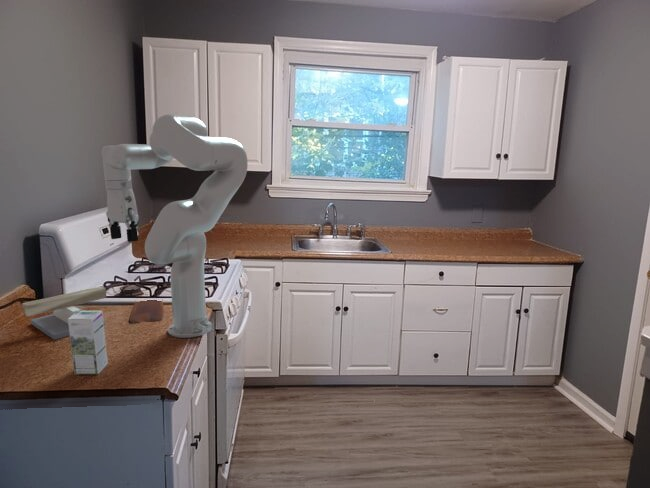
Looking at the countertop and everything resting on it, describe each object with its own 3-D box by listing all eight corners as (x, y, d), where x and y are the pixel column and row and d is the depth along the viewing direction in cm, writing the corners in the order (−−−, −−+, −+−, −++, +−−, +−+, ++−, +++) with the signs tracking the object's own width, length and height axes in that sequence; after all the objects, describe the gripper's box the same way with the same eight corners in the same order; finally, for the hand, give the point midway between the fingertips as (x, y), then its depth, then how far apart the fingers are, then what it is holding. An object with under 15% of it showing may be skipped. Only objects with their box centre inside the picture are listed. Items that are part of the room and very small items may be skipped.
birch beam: (106, 297, 141) (105, 288, 140) (27, 316, 125) (26, 305, 124) (101, 295, 143) (101, 286, 142) (23, 313, 126) (22, 303, 126)
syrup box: (108, 363, 111) (103, 309, 108) (97, 375, 105) (91, 318, 102) (85, 364, 111) (79, 309, 108) (73, 375, 105) (66, 318, 102)
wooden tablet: (163, 322, 140) (163, 317, 140) (129, 326, 137) (128, 321, 136) (164, 297, 165) (164, 292, 164) (135, 299, 161) (135, 295, 161)
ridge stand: (104, 325, 135) (102, 305, 134) (54, 339, 125) (51, 318, 123) (79, 312, 147) (77, 293, 145) (31, 324, 136) (28, 304, 135)
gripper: (145, 185, 136) (150, 240, 139) (116, 184, 146) (121, 235, 149) (122, 187, 130) (128, 244, 133) (93, 186, 140) (99, 239, 143)
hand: (124, 239), depth 141 cm, fingers open, 9 cm apart
